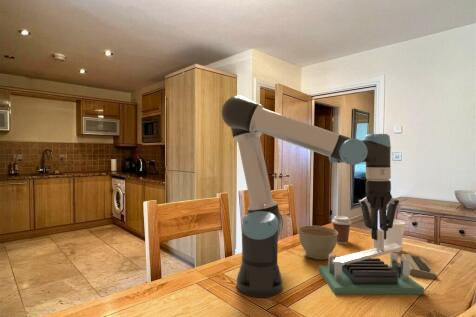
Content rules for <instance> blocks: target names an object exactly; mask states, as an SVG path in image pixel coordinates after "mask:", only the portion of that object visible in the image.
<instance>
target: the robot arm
mask: <svg viewBox="0 0 476 317" xmlns="http://www.w3.org/2000/svg"><path fill="white" fill-rule="evenodd" d="M221 117H222V120H223V122H224V124H225V125H226V126H228V127H230V131H231V135H232V139H233V140H234V141H236V142H237V143H238V149H239V153H240V159H241V164H242V168H243V173H244V177H245V183H246V188H247V192H248V198H249V205H248V207H247V214H245V215H244V217H242V221H241V222H242V223H241V232H242V233H241V238H242V239H241V242H242V243H241V245H242V246H241V264H240V267H239V271H238V274H237V276H236V288H237V289H238V290H239V292H240V293H242V294H244V295H245V296H246V295H247V296H249V297H252V298H253V297H254V298H271V297H273V296H276V295H278V294H280V293H281V292H282V291H283V286H284V283H283V277H282V273H281V271H280V267H279V262H278V246H279V245H278V243H279V238H280V235H281V233H282V231H283V228H284V219H283V216H282V214H281V212H280V208H279V203H278V202H277V201H276V200H274V199H273V196H272V194H273V193H272V190H271V185H270V180H269V174H268V171H267V164H266V161H265V157H264V152H263V146H262V142H261V136H262V134H264V135H267V136H270V137H273V138H276V139H279V140H282V141H283V142H286V143H289V144H293V145H295V146H298V147H301V148H304V149H306V150H309V151H311V152H315V153H318V154H320V155H323V156H326V157H328V161H329V162H330V163H336V164H342V163H345V164H346V165H350V166H354V165H355V166H356V165H359V164H361V163H365V178H366V181H365V193H366V194H364V198H362V199H358V201H357V202H358V204H359V206H360V208H361V213H362V216H363V222H364V225H365V227H366V228H367V229H369V230H371V231H370V232H371V233H370V234H371V239H373V248H376V249H377V250H380V249H381V250H384V239H386V231H388V229H389V228H392V226H393V221H394V219H395V216H396V211H397V206H398V205H399V203H400V201H399V200H398V199H395V198H394V197H393V195H392V194H391V191H392V184H391V182H392V181H391V180H390V179H391V177H392V176H391V173H392V171H391V170H392V169H391V150H392V146H391V137H390V135H389V134H387V133H373V134H370V133H369V134H366V135H365V137H364V140H361V139H358V138H351V137H348V136H346V135H343V134H339V133H337V132H334V131H330V130H328V129H324V128H322V127H319V126H316V125H313V124H310V123H307V122H304V121H301V120H298V119H296V118H292V117H290V116H287V115H284V114H280V113H277V112H275V111H272V110H269V109H266V108H264V106H263V105H262V104H260V103H258V102H255V101H253V100H251V99H249V98H247V97H245V96H242V95H234V96H231V97H229V98H228V99H227V100H226V101H225V102H224V103H223V106H222V108H221ZM368 204H369V207H368ZM369 208H370V211H369Z"/></svg>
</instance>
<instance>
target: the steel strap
mask: <svg viewBox="0 0 476 317" xmlns="http://www.w3.org/2000/svg"><path fill="white" fill-rule="evenodd" d="M403 250H404V249H403V246H400V245H398V244H396V243H392V244H389V245H385V246H384V250H381V249H380V250H377V249H376V248H374V247H373V248H370V249H366V250H361V251H359V252H354V253H350V254H346V255H343V256H339V257H335V259H334V258H332V259H331V262H332V263H333V265H334V266H335V261H341V262H342V265H346V264H350V263H354V262H358V261H361V260H365V259H369V258H378V257H380V256H381V257H382V256H384V255H388V254H391V253H396V251H400V252H401V251H403Z"/></svg>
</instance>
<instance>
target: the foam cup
mask: <svg viewBox="0 0 476 317" xmlns="http://www.w3.org/2000/svg"><path fill="white" fill-rule="evenodd" d="M405 229H406V222H405V221H402V220H401V219H395V218H394V221H393V226H392V228H389V229H388V231H386V239H384V246H385V245H389V244H392V243H396V244H398V245H400V246H402V244H403V240H404V235H405V234H404V233H405ZM402 247H403V246H402ZM400 252H401V250H400V251H396V252H395V253H397V254H398V253H400Z"/></svg>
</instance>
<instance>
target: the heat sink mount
mask: <svg viewBox="0 0 476 317" xmlns="http://www.w3.org/2000/svg"><path fill="white" fill-rule="evenodd" d="M332 258H334V259H335V258H336V254H332V253H330V254H329V258H328V261H327V262H328V264H327V266H328V271H329V273H335V274H334V279H335V281H342V271H343V272H344V274H345V275H346V276H347V277H348V278H349V279H350V280H351V282H352V283H353V284H354V285H398V278H399V279H401V280H402V281H409V277H410V273H409V261H407V260H401V259H400V262H399V253H398V252H397V253H396V252H392V253H390V258H389V259H390V261H389V262H390V264H388V263H385V261H384V260H381V259H380V258H378V257H373V258H369V259H365V260H361V261H358V262H354V263H350V264H346V265H342V262H341V261H335V266H334V265H333V263H332V262H331V259H332ZM388 266H390V267H388Z"/></svg>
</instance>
